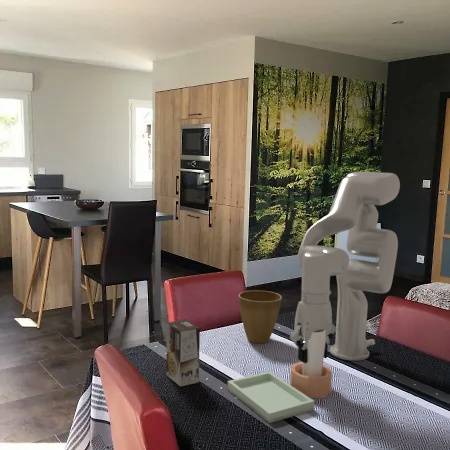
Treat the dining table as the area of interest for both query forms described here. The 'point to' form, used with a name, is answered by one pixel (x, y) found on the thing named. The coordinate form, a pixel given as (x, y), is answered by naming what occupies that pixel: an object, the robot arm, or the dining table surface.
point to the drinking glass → (314, 354)
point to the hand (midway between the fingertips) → (312, 358)
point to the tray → (270, 396)
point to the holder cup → (311, 382)
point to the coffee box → (183, 352)
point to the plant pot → (259, 314)
